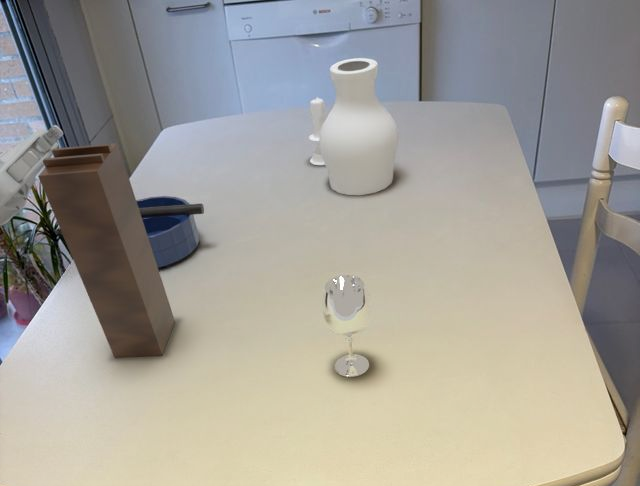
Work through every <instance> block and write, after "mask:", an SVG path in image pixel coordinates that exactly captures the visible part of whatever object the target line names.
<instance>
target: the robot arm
mask: <svg viewBox="0 0 640 486" xmlns="http://www.w3.org/2000/svg"><path fill="white" fill-rule="evenodd" d="M63 135H64V132H63V130H62V129H61V128H60V127H59V126H58V125H57V124H54V125H53V126H52V127H50V128H49V129H48V130H47V131H46V130H45V129H44V128H42V129H41V128H40V129H37V131H35V132H33V133H32V134H30V135H29V136H28V137H26V138H25V139H24V140H22V141H21V142H19V143H18V144H17V145H16V146H14V147H12V148H11V149H10V150H7V149H4V150H3V151H1V152H0V227H1V226H4V225H5V224H7V223H8V222H9V221H10V220H11V219H12V218H13V217H15V215H17V214H18V213H20V211H21V210H23V208H25V206H26V204H27V199H28V196H29V193H30V191H31V189H32V187H33V186H34V185H35V183H36V181H37V175H39V174H40V172H41V170H42V169H43V167H45V165H44V162H43V160H44V159H45V158H52V156H54V155H53V153H52V150H53V149H56V148H59V143H58V141H59V139H61V137H63Z"/></svg>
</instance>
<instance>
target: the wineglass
mask: <svg viewBox="0 0 640 486" xmlns="http://www.w3.org/2000/svg"><path fill="white" fill-rule="evenodd" d="M369 296H370V295H369V293H368V290H367V287H366V284H365V282H364V280H363V279H362V278H361V277H359V276H356V275H351V274H343V275H338V276H334V277H333V278H330V279H328V281H327V282H326V283H325V285H324V288H323V294H322V307H321V309H322V317H323V319H324V323H325V325H326V326H327V328H328V329H329V330H330V331H331V332H333V333H335V334H336V335H340V336H344V339H345V342H346V344H347V347H348V348H347V349H348V354H347V355H343V356H342V357H340V358H338V359H337V360H336V362H335V364H334V370H335V372H336V373H337V374H339V375H340V376H343V377H346V378H347V377H348V378H354V377H359V376H361V375H363V374H365V373H366V372H367V371H368V370H369V368H370V361H369V360H368V358H366V357H365V356H363V355H360V354H354V353H353V342H354V335H357V334H359V333H360V332H362V331H363V330H365V328H366V327H367V326H368V324H369V322H370V319H371V314H372V312H371V311H372V307H371V299H370V297H369Z"/></svg>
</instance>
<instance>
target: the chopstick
mask: <svg viewBox="0 0 640 486" xmlns="http://www.w3.org/2000/svg"><path fill="white" fill-rule="evenodd" d="M139 211H140V214H141V217H142V218H151V217H165V216H179V215H203V214H204V213H205V208H204V204H203V203H189V205H175V206H161V207H148V208H139Z"/></svg>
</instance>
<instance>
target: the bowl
mask: <svg viewBox="0 0 640 486" xmlns="http://www.w3.org/2000/svg"><path fill="white" fill-rule="evenodd" d="M136 202H137V205H138V208H148V207H161V206H175V205H189V204H190V202H188V200H186V199H184V198H181V197H177V196H169V195H168V196H167V195H158V196H150V197H145V198H141V199H136ZM194 215H195V214H193V215H179V216H165V217H151V218H142V220H143V223H144V226H145V230H146V233H147V236H148V239H149V242H150V245H151V248H152V251H153V254H154V258H155V261H156V264H157V267H158V268H162V267H166V266H168V265H169V266H170V265H172V264H174V263H176V262H179V261H181V260H182V259H184V258H186V257H187V256H189V255H191V253H192V252H193V251H194V250H195V249H196V248H197V247H198V245H199V242H200V239H201V238H200V235H199V231H198V227H197V223H196V219H195V216H194Z"/></svg>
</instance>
